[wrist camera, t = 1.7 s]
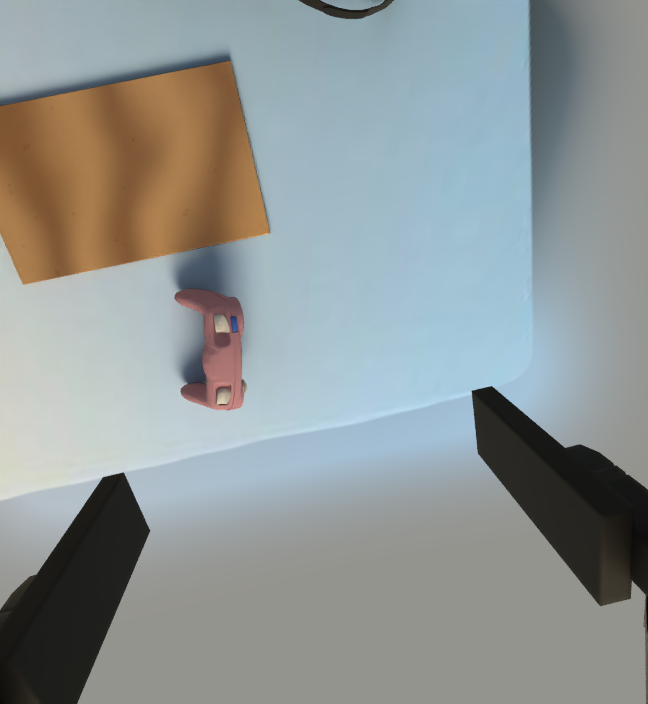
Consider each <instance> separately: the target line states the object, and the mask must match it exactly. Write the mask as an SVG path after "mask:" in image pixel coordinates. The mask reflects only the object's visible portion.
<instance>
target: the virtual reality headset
mask: <svg viewBox="0 0 648 704" xmlns="http://www.w3.org/2000/svg"><path fill="white" fill-rule="evenodd" d="M299 1H301V2H302V3H304V4H306V5H308V6H310V7H313V8H315V9H317V10H319V11H322V12H324V13H325V14H327V15H330V16H334V17H339V18H345V19H360V18H364V17H366V16H369V15H372V14H374V13H376V12H378V11H380V10H382V9H384V8H386V7H387V6H388V5H389V4H391V3H392V1H394V0H385V1H384V2H383V3H382V4H380V5H378V6H375V7H371V8H369V9H364V10H348V9H342V8H338V7H335V6H332V5H329V4H327V3H324V2H322V1H320V0H299Z"/></svg>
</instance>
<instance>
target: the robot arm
mask: <svg viewBox="0 0 648 704" xmlns="http://www.w3.org/2000/svg"><path fill="white" fill-rule="evenodd" d="M472 398H473V408H474V418H475V429H476V439H477V449H478V454H479V455H480V456H481V458H482V459H483V460H484V461H485V463H486V464H487V465H488V466H489V468H490V469H491V470H492V471H493V473H494V474H495V475H496V476H497V478H498V479H499V480H500V481H501V483H502V484H503V485H504V486H505V488H506V489H507V490H508V491H509V492H510V494H511V495H512V497H513V498H514V499H515V500H516V501H517V503H518V504H519V505H520V507H521V508H522V509H523V510H524V511H525V513H526V514H527V515H528V517H529V518H530V519H531V520H532V521H533V523H534V524H535V525H536V526H537V528H538V529H539V530H540V532H541V533H542V534H543V535H544V536H545V538H546V539H547V540H548V542H549V543H550V544H551V545H552V547H553V548H554V549H555V550H556V552H557V553H558V554H559V555H560V557H561V558H562V559H563V560H564V562H565V563H566V564H567V565H568V566H569V568H570V569H571V570H572V571H573V573H574V574H575V575H576V577H577V578H578V579H579V580H580V582H581V583H582V584H583V585H584V587H585V588H586V589H587V590H588V592H589V593H590V594H591V595H592V597H593V598H594V599H595V600H596V602H597V603H598V604H599V605H600V606H603V605H607V604H611V603H614V602H619V601H623V600H627V599H630V598H631V583H632V581H633V582H634V583H635V584H636V585H637V586H638V587H639V588H640V589H641V590H642V591H643V592H644V593H645V595H646V599H645V612H644V627H645V637H646V638H645V639H646V643H645V644H646V704H648V490H647V489H646V488H645V487H644V486H642V485H641V484H640V483H639V482H637V481H636V480H635V479H633V478H632V477H631V476H629V475H626V473H625V472H624V471H623V470H622V469H620V468H619V467H618V466H614V464H613V463H612V462H611V461H610V460H608V459H607V458H606V457H605V456H603V455H602V454H601V453H599V452H597V451H595V450H592V449H590V448H588V447H585V446H583V445H575V446H571V447H567V448H564V447H563V446H562V445H561V444H560V443H558V442H557V441H556V440H555V439H554V438H553V437H551V436H550V435H549V434H548V433H547V432H545V431H544V430H543V429H542V428H541V427H540V426H538V425H537V424H536V423H535V422H534V421H532V420H531V419H530V418H529V417H528V416H526V415H525V414H524V413H523V412H522V411H520V410H519V409H518V408H517V407H516V406H515V405H513V404H512V403H511V402H510V401H509V400H508V399H506V398H505V397H504V396H503V395H502V394H500V393H499V392H498V391H497V390H496V389H495V388H493V387H492V386H490V387H486V388H482V389H477V390H473V391H472ZM149 532H150V530H149V527H148V525H147V523H146V521H145V518H144V516H143V514H142V512H141V510H140V508H139V505H138V503H137V501H136V499H135V496H134V494H133V492H132V490H131V487H130V485H129V483H128V481H127V479H126V476H125V474H124V473H119V474H115V475H111V476H107V477H103V478H102V480H101V481H100V483H99V484H98V486H97V487H96V489H95V490H94V491H93V493H92V494H91V496H90V497H89V499H88V500H87V502H86V503H85V505H84V506H83V508H82V509H81V511H80V512H79V514H78V515H77V516H76V518H75V519H74V521H73V522H72V524H71V525H70V527H69V528H68V530H67V531H66V533H65V534H64V535H63V537H62V538H61V540H60V541H59V543H58V544H57V546H56V547H55V548H54V550H53V551H52V553H51V554H50V556H49V557H48V559H47V560H46V562H45V563H44V565H43V566H42V567H41V569H40V570H39V572H38V573H37V575H33V576H30V577H29V578H28V579H27V580H26V581H25V582H23V583H22V584H21V585H20V586H19V587H18V588H17V589H16V590H15V591H14V592H13V593H12V594H11V596H10V597H9V598H8V600H7V601H6V603H5V604H4V605H3V607H2V608H1V610H0V704H77V703H78V700H79V698H80V695H81V693H82V691H83V688H84V686H85V684H86V681H87V679H88V677H89V674H90V672H91V670H92V667H93V665H94V662H95V660H96V657H97V655H98V653H99V650H100V648H101V646H102V644H103V641H104V639H105V636H106V634H107V631H108V629H109V627H110V624H111V622H112V620H113V618H114V615H115V613H116V610H117V608H118V606H119V603H120V601H121V599H122V596H123V594H124V591H125V589H126V587H127V584H128V582H129V579H130V577H131V575H132V573H133V570H134V568H135V565H136V563H137V561H138V558H139V556H140V554H141V551H142V549H143V547H144V544H145V542H146V539H147V537H148V535H149Z"/></svg>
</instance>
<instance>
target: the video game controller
mask: <svg viewBox="0 0 648 704" xmlns="http://www.w3.org/2000/svg"><path fill="white" fill-rule="evenodd" d="M175 300H176V301H177V302H178V303H179V304H181V305H182V306H185V307H188V308H191V309H194V310H196V311H198V312H200V313H201V314H203V316H204V334H205V345H204V349H203V356H202V364H203V369H204V372H205V374H206V377H207V384H205V383H192V384H187V385H184V386H183V387H182V388H181V394H182V396H183V397H184V398H185V399H187V400H189V401H192V402H194V403H197V404H201V405H203V406H206V407H209V408H212V409H216V410H232V409H237V408H240V407H241V406H242V404H243V399H244V394H245V393H246V390H247V385H246V383H245V381H244V380H243V379H242V352H241V340H240V338H241V337H242V333H243V328H244V318H243V312H242V308H241V305H240V303H239V301H238V299H237V298H235V297H226V296H224V295H222V294H219V293H216V292H212V291H207V290H202V289H185V290H182V291H179V292H177V293H176V294H175Z"/></svg>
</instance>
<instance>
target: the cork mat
mask: <svg viewBox="0 0 648 704" xmlns="http://www.w3.org/2000/svg"><path fill="white" fill-rule="evenodd" d="M0 234H1V236H2V238H3V240H4V243H5V245H6V247H7V249H8V252H9V254H10V256H11V258H12V261H13V263H14V265H15V267H16V270H17V272H18V274H19V276H20V279H21V281H22V283H23V284H29V283H34V282H38V281H43V280H48V279H53V278H58V277H63V276H67V275H72V274H77V273H82V272H87V271H92V270H96V269H101V268H106V267H111V266H116V265H121V264H125V263H130V262H135V261H140V260H145V259H150V258H154V257H159V256H164V255H169V254H174V253H179V252H183V251H188V250H193V249H198V248H203V247H207V246H212V245H217V244H222V243H227V242H232V241H236V240H241V239H246V238H251V237H256V236H261V235H265V234H270V229H269V225H268V221H267V216H266V212H265V208H264V203H263V199H262V194H261V190H260V186H259V181H258V177H257V173H256V168H255V164H254V160H253V155H252V151H251V146H250V142H249V138H248V133H247V129H246V125H245V120H244V116H243V112H242V107H241V103H240V98H239V94H238V90H237V85H236V81H235V77H234V72H233V68H232V64H231V61H225V62H220V63H215V64H210V65H205V66H200V67H195V68H190V69H185V70H179V71H174V72H169V73H164V74H159V75H154V76H149V77H144V78H139V79H134V80H129V81H124V82H119V83H114V84H109V85H104V86H99V87H94V88H89V89H84V90H78V91H73V92H68V93H63V94H58V95H53V96H48V97H43V98H38V99H33V100H28V101H23V102H18V103H13V104H8V105H3V106H0Z"/></svg>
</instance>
